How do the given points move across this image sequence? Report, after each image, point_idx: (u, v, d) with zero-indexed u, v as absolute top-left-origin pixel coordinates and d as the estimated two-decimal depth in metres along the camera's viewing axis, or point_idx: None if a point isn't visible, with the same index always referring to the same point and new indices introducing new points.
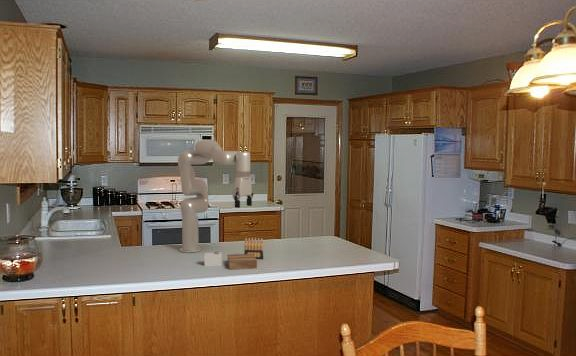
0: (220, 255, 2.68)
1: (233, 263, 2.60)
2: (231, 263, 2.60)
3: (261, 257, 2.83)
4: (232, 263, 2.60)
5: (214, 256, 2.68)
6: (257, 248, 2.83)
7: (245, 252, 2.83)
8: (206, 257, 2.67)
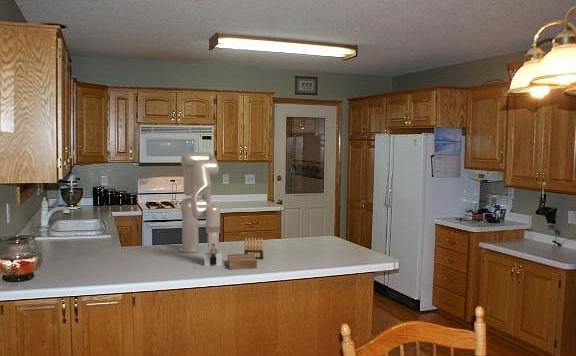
0: (220, 255, 2.68)
1: (233, 263, 2.60)
2: (231, 263, 2.60)
3: (261, 257, 2.83)
4: (232, 263, 2.60)
5: None
6: (257, 248, 2.83)
7: (245, 252, 2.83)
8: (206, 257, 2.67)
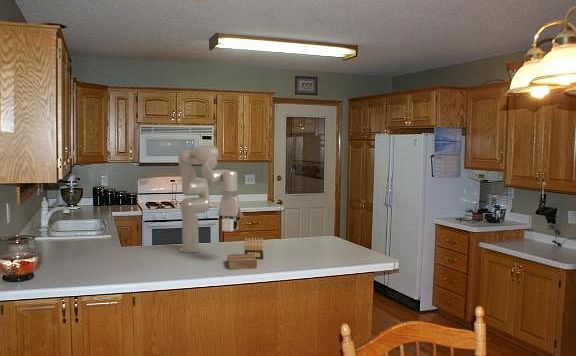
0: None
1: (233, 263, 2.60)
2: (231, 263, 2.60)
3: (261, 257, 2.83)
4: (232, 263, 2.60)
5: None
6: (257, 248, 2.83)
7: (245, 252, 2.83)
8: (231, 222, 2.64)
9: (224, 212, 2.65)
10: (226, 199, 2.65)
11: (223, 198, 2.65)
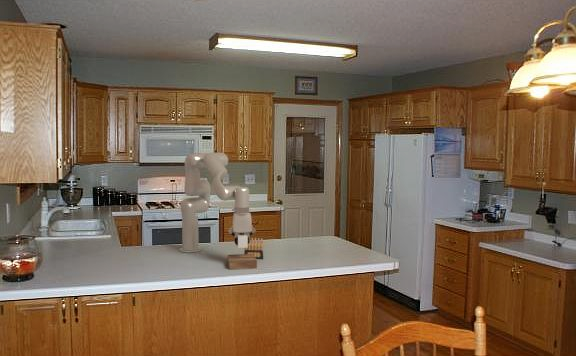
0: (246, 234, 2.72)
1: (233, 263, 2.60)
2: (231, 263, 2.60)
3: (261, 257, 2.83)
4: (232, 263, 2.60)
5: None
6: (257, 248, 2.83)
7: (245, 252, 2.83)
8: (247, 238, 2.65)
9: (238, 229, 2.64)
10: (240, 216, 2.64)
11: (237, 215, 2.64)
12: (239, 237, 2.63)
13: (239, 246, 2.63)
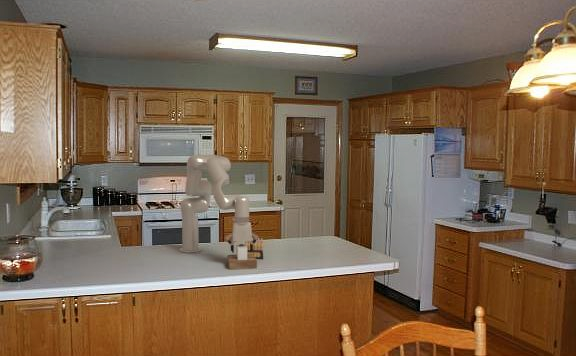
0: (245, 246, 2.73)
1: (233, 263, 2.60)
2: (231, 263, 2.60)
3: (261, 257, 2.83)
4: (232, 263, 2.60)
5: None
6: (257, 248, 2.83)
7: None
8: None
9: (238, 238, 2.65)
10: (240, 225, 2.65)
11: (237, 224, 2.64)
12: (239, 249, 2.64)
13: (239, 258, 2.64)
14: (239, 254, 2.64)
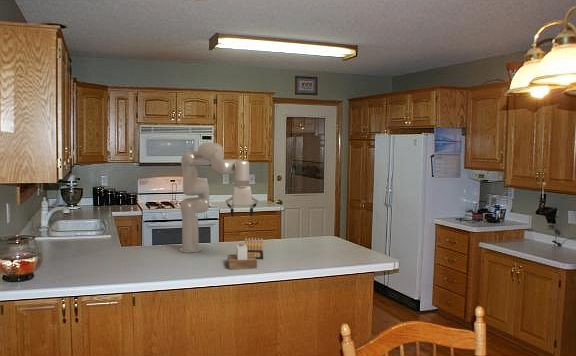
0: (245, 246, 2.73)
1: (233, 263, 2.60)
2: (231, 263, 2.60)
3: (261, 257, 2.83)
4: (232, 263, 2.60)
5: None
6: (257, 248, 2.83)
7: None
8: None
9: (238, 202, 2.63)
10: (240, 189, 2.63)
11: (237, 188, 2.63)
12: (239, 249, 2.64)
13: (239, 258, 2.64)
14: (239, 254, 2.64)
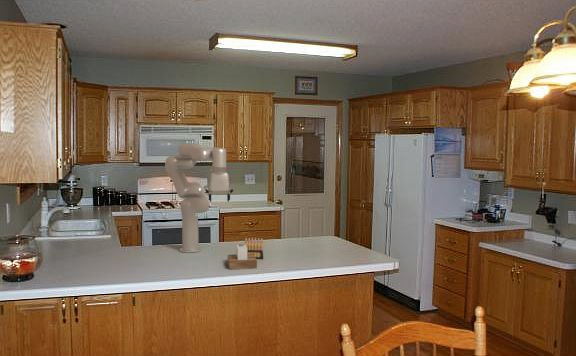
0: (245, 246, 2.73)
1: (233, 263, 2.60)
2: (231, 263, 2.60)
3: (261, 257, 2.83)
4: (232, 263, 2.60)
5: None
6: (257, 248, 2.83)
7: None
8: None
9: (215, 188, 2.77)
10: (218, 175, 2.76)
11: (214, 174, 2.76)
12: (239, 249, 2.64)
13: (239, 258, 2.64)
14: (239, 254, 2.64)
